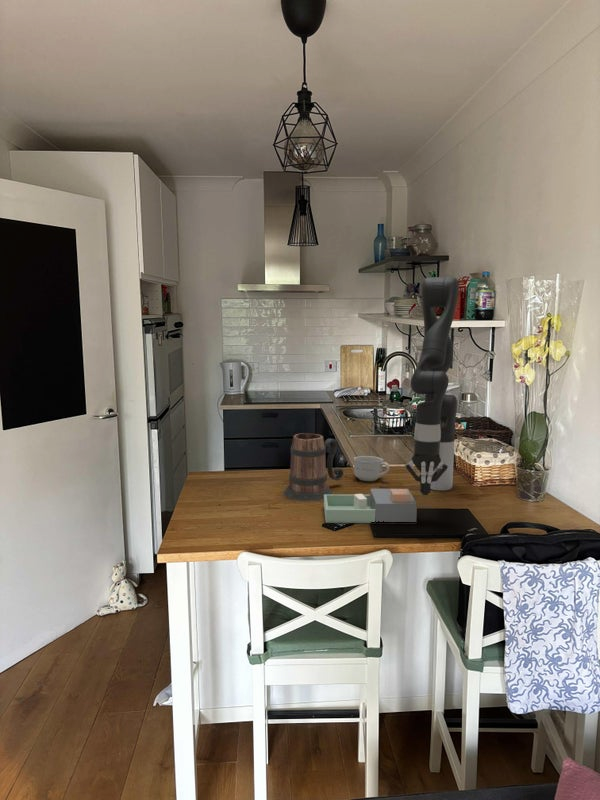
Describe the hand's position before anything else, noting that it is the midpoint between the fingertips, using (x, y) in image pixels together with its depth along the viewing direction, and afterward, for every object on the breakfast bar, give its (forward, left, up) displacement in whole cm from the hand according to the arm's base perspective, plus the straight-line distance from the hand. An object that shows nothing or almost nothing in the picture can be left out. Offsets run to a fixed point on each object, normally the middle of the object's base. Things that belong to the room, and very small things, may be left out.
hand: (424, 494), depth 172 cm
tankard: (-26, -32, -8) cm, 42 cm away
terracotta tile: (0, -7, -2) cm, 8 cm away
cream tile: (-5, -18, -5) cm, 19 cm away
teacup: (-39, -11, -8) cm, 42 cm away
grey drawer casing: (-4, -9, -8) cm, 12 cm away
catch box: (-4, -22, -8) cm, 24 cm away
